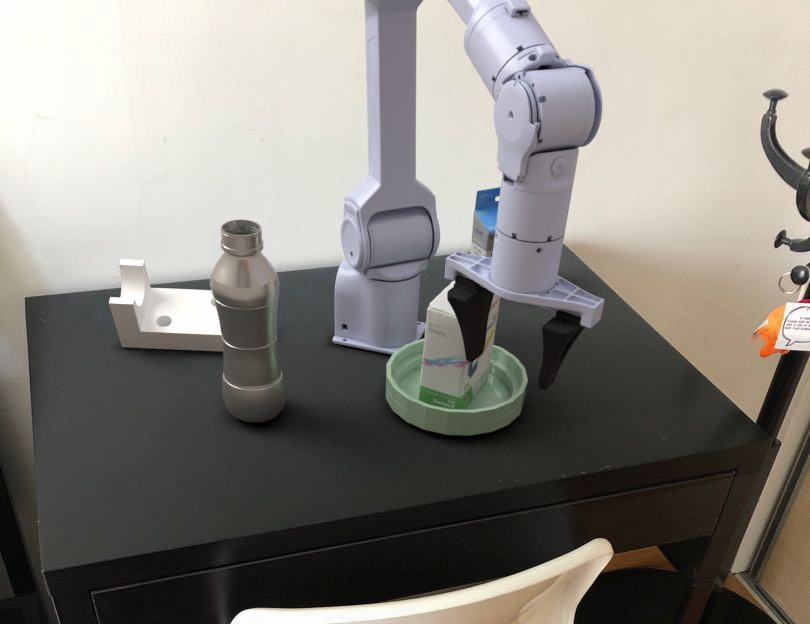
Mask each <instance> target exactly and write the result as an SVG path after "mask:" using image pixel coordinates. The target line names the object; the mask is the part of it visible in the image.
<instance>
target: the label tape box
mask: <svg viewBox="0 0 810 624" xmlns="http://www.w3.org/2000/svg"><path fill="white" fill-rule="evenodd" d="M500 188H501V186H497V187H491V188H485V189H480V190H479V189H478V190H476V196H475V202H474V203H475V204H474V210H473V218H472V219H473V220H472V229H471V241H470V243H471V244H470V254H472V255H477V256H484V257H490V258H492V255H493V246H494V238H495V229H496V221H497V213H498V205H499V200H496V199H497V197H498V198H499V196H500Z"/></svg>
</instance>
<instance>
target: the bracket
mask: <svg viewBox="0 0 810 624" xmlns="http://www.w3.org/2000/svg"><path fill="white" fill-rule="evenodd" d="M118 266H119V271H120V279H121V280H120V281H121V286H120V287H121V288H120V289H121V290H120V296H119V297H118V296H117V297H115V296H110V297H109V301H108V306H109V309H110V312H111V315H112V319H113V322H114V325H115V328H116V332H117V335H118V338H119V339H118V340H119V341H120V345H121V348H131V349H155V350H179V351H203V352H223V342H222V334H221V330H220V323H219V318H218V314H217V311H216V307H215V303H214V299H213V296H212V292H211V289H189V288H167V287H166V288H165V287H152V286H151V283H150V278H149V275H148V270H147V267H146V263H145V259H130V258H129V259H127V258H120V260H119V263H118Z"/></svg>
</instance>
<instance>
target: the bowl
mask: <svg viewBox="0 0 810 624" xmlns="http://www.w3.org/2000/svg"><path fill="white" fill-rule="evenodd" d="M424 339H425V337H423V338H420V340H417V341H414V342H411V343H408V344H406V345H404V346H403V347H401V348H400V349H398V350H397V351H396V352H394V353H393V354H392V355H391V356H390V358H389V359H388V360H387V362H386V365H385V366H386V367H385V400H386V402H387V403H388V406H389V407H390V408H391V411H392V412H394V413H395V414H396V415H397V416H399V417H400V418H401V419H402V420H404V422H406V423H408V424H410V425H412V426H415V427H416V428H419V429H422V430H424V431H428V432H433V433H437V434H442V435H447V436H475V435H481V434H482V435H483V434H488V433H493V432H495V431H497V430H500V429H503V428H504V427H507V426H509V425H510V424H511V423H512V422H513V421H514V420H516V419H517V418H518V417H519V416H520V415H521V414H522V413H521V412H522V410H523V407H524V406H525V401H526V396H527V395H526V394H527V388H528V382H529V380H528V375H527V371H526V367H525V366H524V365H523V363H522V362H521V361H520V359H518V358H517V357H516V356H515V355H514V354H512V353H511V352H509V351H508V350H506V349H505V348H503V347H502V346H498V345H496V344H495V343H493V350H492V356H491V362H490V369H489V375H488V380H487V381H486V382H485V383H484V385H483V386H482V387H481V389H480V390H479V391H478V392H477V394H476V395H475V396H474V397H473V399H472V400H471V401H470V403H469V404H468V405H467V407H466V408H465V409H447V408H443V407H438V406H433V405H429V404H426V403H424V402H422V401H419V400H418V398H419V389H420V378H421V369H422V360H423V349H424Z"/></svg>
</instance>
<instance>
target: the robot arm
mask: <svg viewBox="0 0 810 624" xmlns="http://www.w3.org/2000/svg"><path fill="white" fill-rule="evenodd" d="M423 2H424V0H364V37H365V44H364V45H365V78H366V79H365V80H366V81H365V82H366V118H367V119H366V121H367V162H368V163H367V164H368V165H367V166H368V167H367V168H368V174H367V175H366V176H365V178H363V180H361V182H360V183H358V184H357V185H356V186H355V187H353V188H352V190H350V191H349V192H348V193H347V194H346V195H345V196H344V198H343V199H344V203H343V216H342V222H341V225H340V240H341V241H340V242H341V247H342V252H343V254H344V257H345V258H343V260H342V261H341V263H340V265H339V267H338V269H337V273H336V278H335V283H334V336H333V337H332V343H333V344H337V345H343V346H345V347H346V346H347V347H351V348H356V349H362V350H366V351H370V352H371V351H372V352H376V353H381V354H386V355H391V356H392V354H393V353H394V352H396V351H397V350H398V349H400V348H401V347H403V346H404V345H406V344H408V343H411V342H414V341H417V340H420V339H422V337H423V335H424V334H425V329H426V322H423V321H418V320H419V306H420V305H419V304H420V293H421V292H420V291H421V290H420V289H421V277H422V276H421V275H422V274H421V273H422V271H424V270H427V269H428V261H430V260H432V259H434V258H435V256H436V254H437V252H438V249H439V247H440V244H441V243H440V242H441V227H440V223H439V219H438V213H437V200H436V196H435V194H434V193H433V191H432V190H431V189H430V188H429V187H428V186H426V184H424V183H423V182H421V181H420V180H418V179H417V178H416V177H417V176H416V175H417V174H416V173H417V171H416V169H417V30H418V29H417V26H418V25H417V24H418V23H417V21H418V19H417V13H418V9H419V7H420V6H421V4H422V3H423ZM447 2H448V3H449V4H450V6H451V8H452V9H453V10H454V11H455V13H456V14H457V15H458V17H459V18H460V19H461V21H462V22H463V23H464V24H465V26H466V27H465V30H464V35H463V47H464V52H465V54H466V55H467V57H468V58H469V59H468V60H470V62H471V64H472V66H473V67H474V69H475V71H476V73H477V74H478V75H479V77H480V79H481V81H482V82H483V84H484V85H485V87H486V89H487V91H488V93H489V94H490V96H491V97H492V99H493V101H494V103H493V123H494V129H495V135H496V138H497V139H496V140H497V155H496V161H497V168H498V170H499V171H500V172H501V181H500V187H501V188H500V196H498V201H499V205H498V213H497V221H496V229H495V238H494V246H493V255H492V258H490V257H484V256H477V255H472V254H471V253H468V252H463V251H459V250H456V251H455V252H453V253H452V254H450V255H449V256H447V257H446V258H445V268H444V279H447V280H449V281H451V282H452V281H455V283H454V287H453V288H451V289H450V290H449V291H448V293H447V300H448V302H449V304H450V305H451V307H452V309H453V311H454V313H455V315H456V318H457V320H458V323H459V326H460V329H461V333H462V338H463V343H464V348H465V355H466V360H467V361H469V362H473V361H474V360H476V359H477V358H478V357H479V356H481V355H482V354H483V351H484V347H485V341H486V333H487V323H488V317H489V312H490V308H491V304H492V300H493V296H494V294H495V295H497V296H499V297H500V299H504V300H507V301H509V302H514V303H520V304H526V305H527V304H528V305H532V306H536V307H539V308H542V309H545V310H547V311H550V312H554V313H555V315H554V316H553V317H551V318H550V319H549V320H548V321H547V322H545V323H544V324H543V325H542V329H541V334H542V357H541V358H542V359H541V365H540V369H539V374H538V379H537V388H538V389H540V390H543V391H547V389H549V388H550V386H552V385H553V384H554V383H555V382H556V379H557V376H558V373H559V371H560V369H561V366H562V365H563V362H564V360H565V358H566V357H567V355H568V353H569V351H570V350H571V348H572V346H573V345H574V343H575V342H576V341H577V339H578V338H579V336H580V335H581V333H583V332H584V329H586V328H587V329H593V327H595V325H597V324H598V322H600V321H601V320H602V314H603V310H604V305H605V300H606V299H605V298H602V297H600V296H596V295H594V294H592V293H591V292H588V291H586V290H585V289H582V288H581V287H579V286H578V285H575V284H574V283H573V282H571V281H568V280H567V279H565V278H564V277H561V276H560V275H558V274H559V269H560V263H561V257H562V253H563V245H564V239H565V234H566V229H567V223H568V216H569V211H570V205H571V200H572V194H573V189H574V188H573V187H574V182H575V178H576V177H575V176H576V171H577V165H578V159H579V154H580V148H583V147H586V146H588V145H589V144H591V143H592V142H593V141H594V139H595V138H596V136H597V134H598V131H599V129H600V126H601V122H602V116H603V96H602V91H601V87H600V84H599V81H598V79H597V78H596V76H595V73H594V70H593V68H592V67H591V66H589V65H588V64H586V63H574V62H573V61H572V60H571V58H562V56H561V55H560V53H559V52H558V50H557V49H556V48H555V46H554V44H553V43H552V41H551V39H550V38H549V37H548V35H547V33H546V32H545V30H544V29H543V27H542V25H541V24H540V22H539V21H538V19H537V18H536V16H535V15H534V13H533V12H532V8H531V6H530V4H529V3H528V1H527V0H447Z"/></svg>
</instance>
